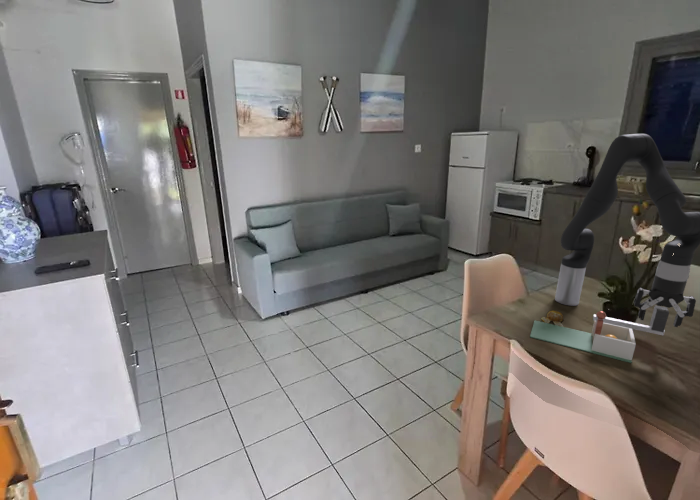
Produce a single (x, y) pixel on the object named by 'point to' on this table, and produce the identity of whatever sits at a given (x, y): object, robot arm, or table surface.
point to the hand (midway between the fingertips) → (657, 322)
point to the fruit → (553, 318)
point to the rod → (655, 326)
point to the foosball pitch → (590, 339)
